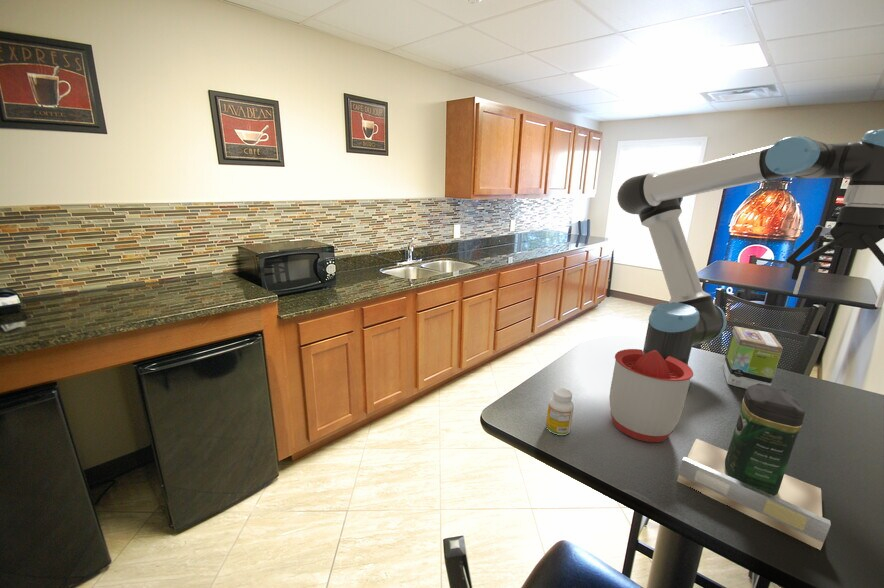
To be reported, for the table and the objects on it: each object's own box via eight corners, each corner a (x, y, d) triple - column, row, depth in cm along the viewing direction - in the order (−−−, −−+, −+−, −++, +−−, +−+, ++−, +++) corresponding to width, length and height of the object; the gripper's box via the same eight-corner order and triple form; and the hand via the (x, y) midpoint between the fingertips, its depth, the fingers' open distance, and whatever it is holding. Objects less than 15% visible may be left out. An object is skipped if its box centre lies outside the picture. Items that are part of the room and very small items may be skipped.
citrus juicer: (678, 420, 92) (696, 345, 87) (675, 459, 78) (697, 373, 73) (610, 399, 100) (623, 330, 95) (597, 432, 86) (611, 352, 81)
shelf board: (677, 481, 72) (678, 474, 72) (694, 444, 83) (696, 438, 83) (820, 550, 59) (823, 542, 58) (818, 495, 70) (821, 488, 70)
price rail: (678, 475, 71) (682, 460, 70) (680, 471, 73) (684, 456, 72) (823, 544, 58) (830, 526, 57) (823, 538, 59) (830, 520, 58)
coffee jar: (782, 505, 66) (815, 412, 61) (727, 486, 69) (754, 398, 64) (769, 471, 74) (797, 387, 69) (721, 456, 77) (744, 375, 72)
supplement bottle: (553, 419, 90) (558, 383, 88) (573, 430, 87) (579, 392, 84) (541, 428, 86) (546, 391, 84) (562, 440, 83) (568, 401, 80)
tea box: (769, 395, 106) (784, 347, 102) (726, 384, 111) (739, 338, 107) (759, 374, 119) (772, 331, 115) (721, 366, 124) (732, 324, 120)
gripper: (954, 209, 76) (914, 309, 81) (790, 203, 92) (766, 286, 98) (965, 210, 70) (922, 316, 76) (789, 203, 87) (764, 290, 92)
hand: (834, 299), depth 87 cm, fingers open, 13 cm apart
